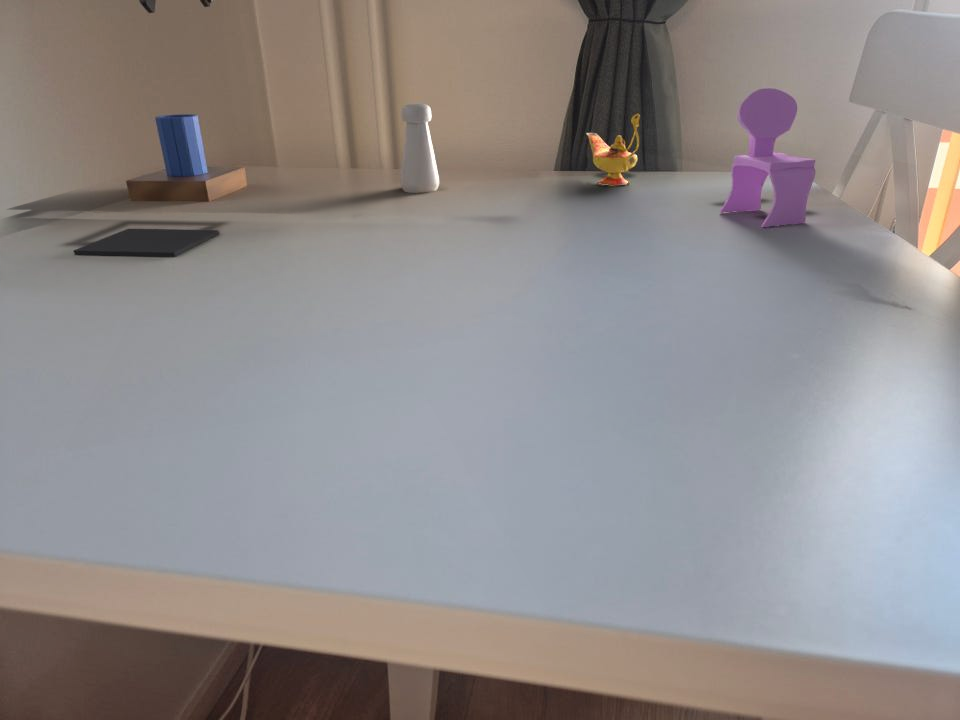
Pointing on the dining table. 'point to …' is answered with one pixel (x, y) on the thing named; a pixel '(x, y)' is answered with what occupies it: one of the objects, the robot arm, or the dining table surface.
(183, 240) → the mat
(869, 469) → the dining table surface
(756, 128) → the toy chair
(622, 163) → the magic lamp
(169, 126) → the blue faceted cup
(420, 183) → the salt shaker
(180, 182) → the platform
